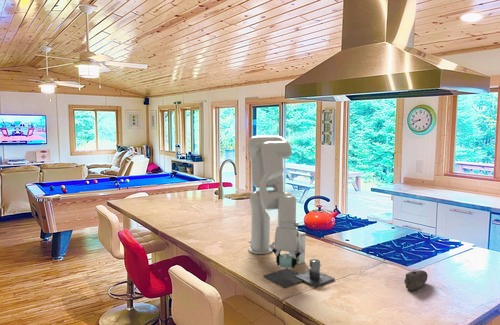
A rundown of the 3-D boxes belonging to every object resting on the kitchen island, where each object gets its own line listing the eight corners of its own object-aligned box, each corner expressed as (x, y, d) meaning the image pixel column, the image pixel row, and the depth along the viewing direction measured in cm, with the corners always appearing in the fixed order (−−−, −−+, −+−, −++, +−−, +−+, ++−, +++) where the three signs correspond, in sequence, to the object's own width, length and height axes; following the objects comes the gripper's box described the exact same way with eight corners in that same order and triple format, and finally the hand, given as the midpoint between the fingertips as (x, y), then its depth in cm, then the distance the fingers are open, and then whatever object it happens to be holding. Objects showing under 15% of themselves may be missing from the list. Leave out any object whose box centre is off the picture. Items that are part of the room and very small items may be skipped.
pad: (263, 276, 161) (263, 275, 161) (287, 269, 169) (287, 268, 169) (284, 288, 150) (284, 286, 150) (309, 279, 158) (309, 278, 158)
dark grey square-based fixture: (294, 277, 160) (294, 259, 159) (313, 271, 167) (314, 254, 166) (315, 287, 150) (315, 268, 149) (334, 280, 157) (335, 262, 157)
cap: (281, 261, 163) (281, 251, 162) (295, 263, 160) (295, 253, 160) (277, 266, 157) (277, 255, 157) (291, 268, 155) (291, 257, 154)
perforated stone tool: (420, 280, 158) (421, 264, 157) (432, 284, 154) (433, 268, 153) (400, 289, 149) (400, 273, 149) (412, 294, 145) (413, 277, 144)
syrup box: (288, 261, 178) (288, 232, 177) (295, 258, 183) (296, 230, 181) (297, 265, 174) (298, 235, 173) (305, 261, 179) (305, 232, 177)
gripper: (309, 224, 157) (308, 265, 159) (270, 220, 164) (270, 259, 166) (304, 228, 150) (303, 271, 152) (264, 224, 157) (264, 265, 159)
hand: (286, 265), depth 159 cm, fingers closed on cap, 6 cm apart
